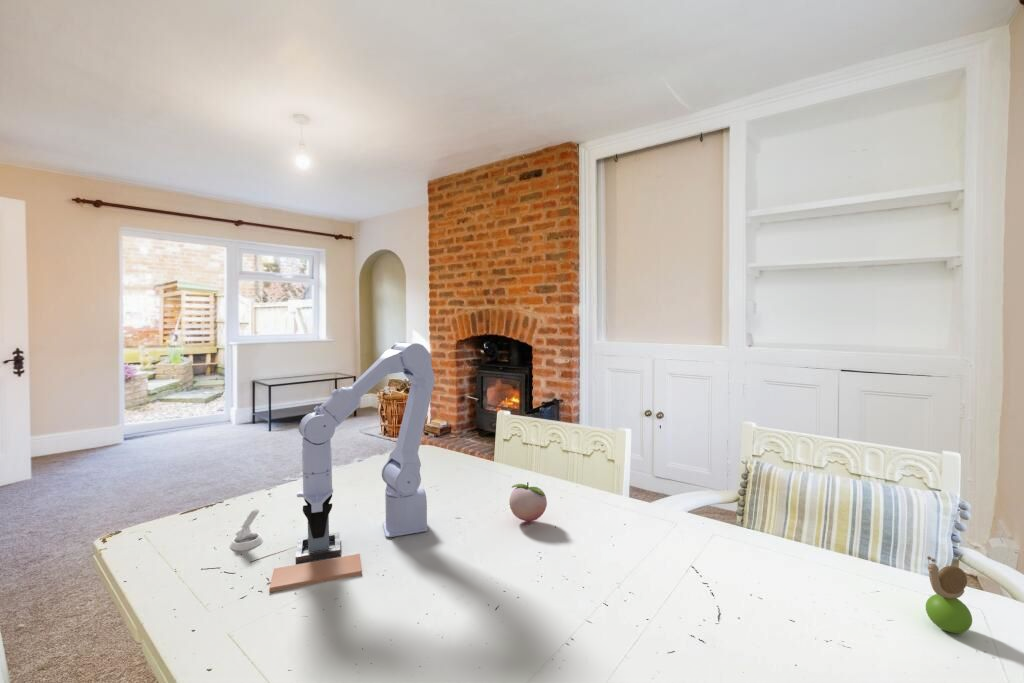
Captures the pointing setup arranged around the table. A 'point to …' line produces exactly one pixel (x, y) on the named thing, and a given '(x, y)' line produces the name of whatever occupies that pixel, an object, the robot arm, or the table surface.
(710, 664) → the table surface
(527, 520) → the decorative fruit
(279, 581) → the terracotta tile
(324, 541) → the metal peg
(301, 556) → the iron collar
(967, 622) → the snail figurine
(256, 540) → the white handled ring
